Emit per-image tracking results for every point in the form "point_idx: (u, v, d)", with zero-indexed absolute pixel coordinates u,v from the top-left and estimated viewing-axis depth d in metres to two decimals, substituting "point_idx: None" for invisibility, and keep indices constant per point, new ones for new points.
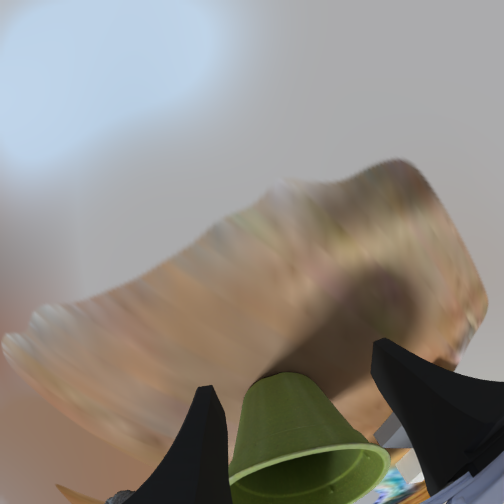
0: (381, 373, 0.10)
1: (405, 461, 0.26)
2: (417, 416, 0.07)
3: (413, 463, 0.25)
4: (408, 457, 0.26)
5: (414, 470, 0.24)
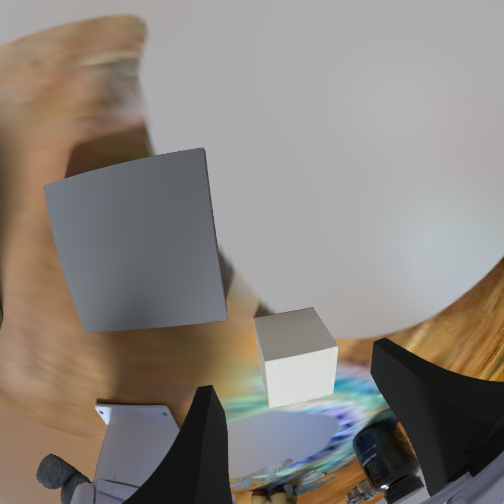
0: (381, 373, 0.10)
1: None
2: (417, 416, 0.07)
3: (260, 358, 0.18)
4: (257, 345, 0.19)
5: (264, 375, 0.17)
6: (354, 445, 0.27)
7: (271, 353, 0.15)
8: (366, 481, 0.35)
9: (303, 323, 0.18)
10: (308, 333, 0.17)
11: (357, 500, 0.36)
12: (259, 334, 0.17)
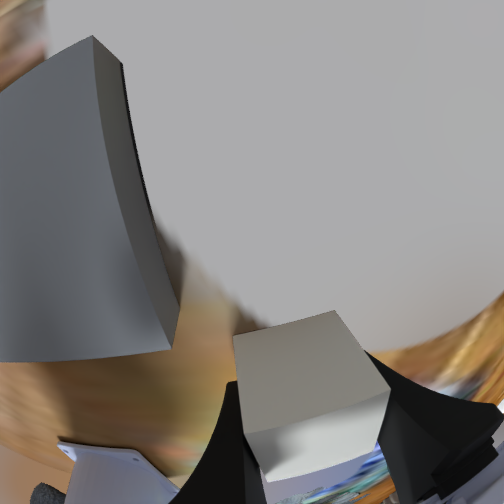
0: None
1: None
2: (388, 431, 0.07)
3: None
4: None
5: None
6: None
7: (259, 412, 0.07)
8: None
9: (320, 343, 0.10)
10: (330, 364, 0.08)
11: None
12: (239, 371, 0.09)
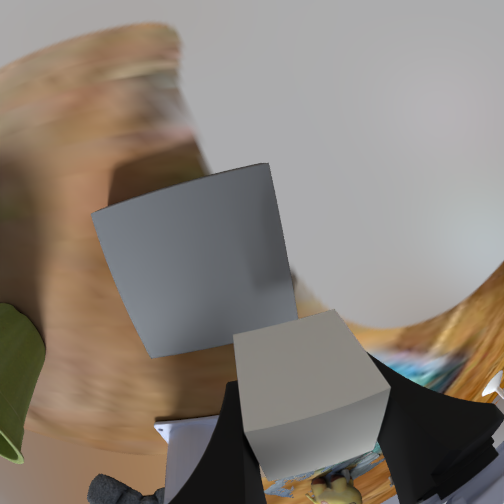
0: None
1: None
2: (388, 431, 0.07)
3: None
4: None
5: None
6: None
7: (259, 411, 0.07)
8: None
9: (320, 342, 0.10)
10: (330, 362, 0.08)
11: None
12: (239, 369, 0.09)
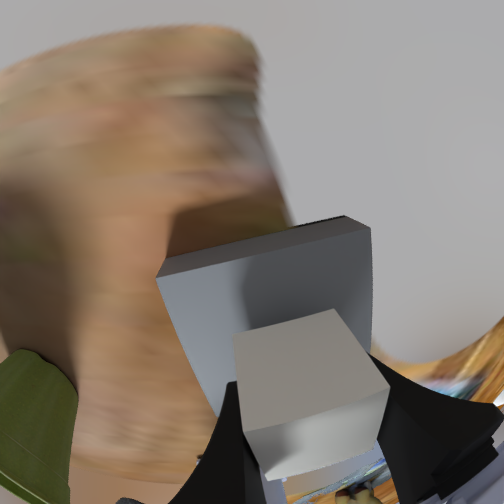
0: None
1: None
2: (388, 431, 0.07)
3: None
4: None
5: None
6: None
7: (258, 410, 0.07)
8: None
9: (319, 341, 0.10)
10: (329, 362, 0.08)
11: None
12: (238, 369, 0.09)
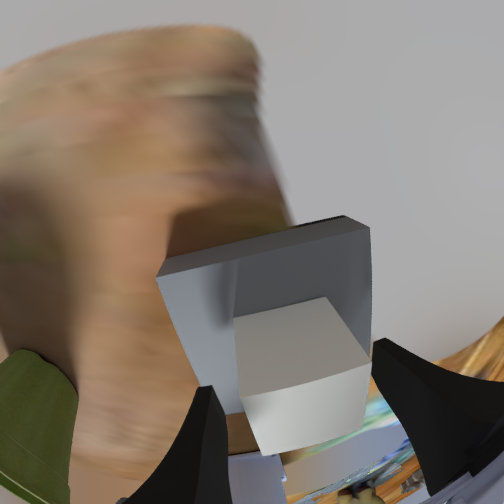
0: (381, 373, 0.10)
1: None
2: (417, 416, 0.07)
3: None
4: None
5: None
6: None
7: (253, 380, 0.08)
8: (420, 470, 0.34)
9: (310, 323, 0.11)
10: (318, 340, 0.10)
11: (410, 488, 0.36)
12: (237, 346, 0.10)
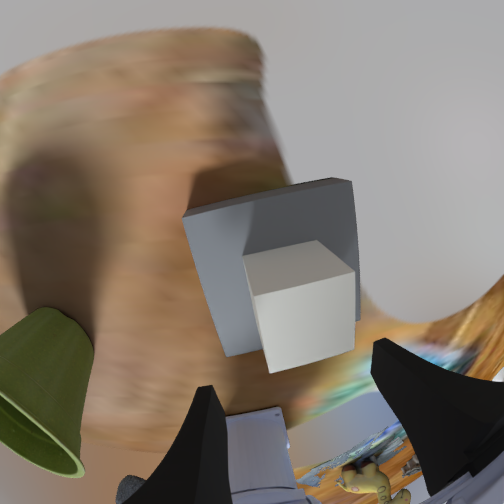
0: (381, 373, 0.10)
1: None
2: (417, 416, 0.07)
3: (253, 304, 0.14)
4: None
5: None
6: None
7: (263, 286, 0.12)
8: None
9: (305, 254, 0.14)
10: (312, 262, 0.13)
11: (411, 471, 0.39)
12: (248, 270, 0.14)
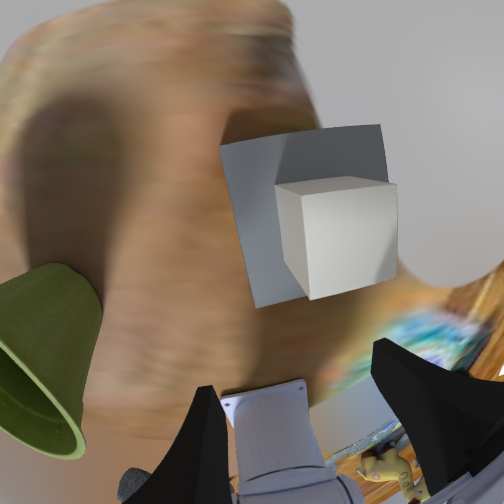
0: (381, 373, 0.10)
1: (285, 236, 0.15)
2: (417, 416, 0.07)
3: (290, 226, 0.13)
4: (282, 220, 0.14)
5: (298, 244, 0.12)
6: None
7: (308, 191, 0.11)
8: None
9: (341, 180, 0.13)
10: (351, 182, 0.12)
11: None
12: (285, 188, 0.13)
